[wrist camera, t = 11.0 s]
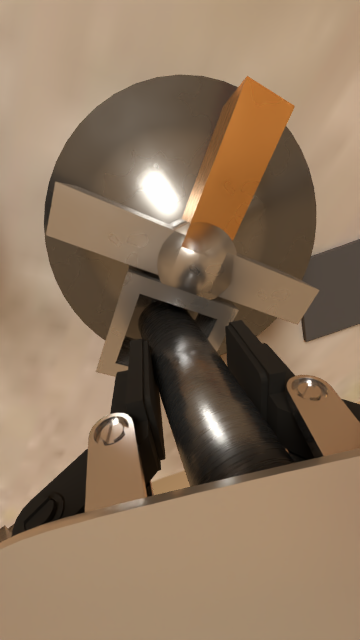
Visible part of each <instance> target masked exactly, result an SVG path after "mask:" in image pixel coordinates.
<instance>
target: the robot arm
mask: <svg viewBox="0 0 360 640" xmlns="http://www.w3.org/2000/svg"><path fill="white" fill-rule="evenodd" d="M225 334H226V350H227V365H228V368H229V370H230V371H231V373H232V374H233V375H234V377H235V378H236V380H237V381H238V383H239V384H240V385H241V387H242V388H243V390H244V391H245V392H246V394H247V395H248V397H249V398H250V400H251V401H252V402H253V404H254V405H255V407H256V408H257V409H258V411H259V412H260V414H261V415H262V417H263V418H264V419H265V421H266V422H267V424H268V425H269V426H270V428H271V429H272V431H273V432H274V434H275V435H276V436H277V438H278V439H279V441H280V442H281V443H282V445H283V446H284V448H285V449H286V451H287V452H288V453H289V455H290V456H291V458H292V459H293V460H294V462H295V463H292V464H287V465H283V466H279V467H274V468H270V469H266V470H261V471H257V472H253V473H248V474H244V475H239V476H235V477H231V478H227V479H222V480H218V481H214V482H209V483H205V484H201V485H196V486H192V487H188V488H184V489H180V490H175V491H171V492H167V493H163V494H158V495H154V493H153V488H152V483H151V479H152V478H153V476H154V475H155V474H156V473H157V471H159V470H161V462H160V460H164V459H165V448H164V438H163V427H162V416H161V406H160V395H159V390H158V387H157V384H156V381H155V377H154V371H153V364H152V357H151V352H150V348H149V343H148V341H143V338H142V339H137V340H131V341H130V352H129V364H128V370H125V371H120V372H117V374H116V379H115V386H114V393H113V399H112V406H111V413H110V414H109V415H107V416H105V417H103V418H102V419H100V420H99V421H98V422H97V423H96V424H95V425H94V426H93V427H92V429H91V431H90V433H89V438H88V449H87V450H85V451H84V452H83V453H82V454H81V455H80V456H79V457H78V458H77V459H76V460H75V461H73V462H72V463H71V464H70V465H69V466H68V467H67V468H66V469H65V470H64V471H62V472H61V473H60V474H59V475H58V476H57V477H56V478H55V479H54V480H53V481H52V482H50V483H49V484H48V485H47V486H46V487H45V488H44V489H43V490H42V491H41V492H40V493H38V494H37V495H36V496H35V497H34V498H33V499H32V500H31V501H30V502H29V503H28V504H27V505H26V506H25V507H24V508H23V510H22V511H21V513H20V514H19V516H18V517H17V519H16V522H15V524H14V525H12V526H11V527H9V528H7V527H6V526H4V527H2V528H1V529H0V640H360V404H357V403H353V402H350V401H347V400H343V399H341V398H340V397H339V396H338V394H337V393H336V392H335V390H334V389H333V388H332V387H331V386H330V385H329V384H328V383H327V382H326V381H324V380H322V379H321V378H318V377H315V376H310V375H298V376H295V375H294V374H293V373H292V372H291V370H290V369H289V368H288V367H287V366H286V365H285V364H284V363H283V361H282V360H281V359H280V358H279V357H278V356H277V355H276V354H275V352H274V351H273V350H272V349H271V348H270V347H269V346H268V345H267V344H265V343H264V344H262V343H261V342H260V341H259V340H258V338H257V337H256V336H255V335H254V334H253V333H252V331H251V330H250V329H249V328H248V327H247V326H246V324H245V323H244V322H243V321H242V320H238V321H233V322H229V325H228V326H225Z"/></svg>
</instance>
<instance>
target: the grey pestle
mask: <svg viewBox="0 0 360 640" xmlns="http://www.w3.org/2000/svg"><path fill="white" fill-rule="evenodd" d="M138 329H139V332H140V335H141V338H143V341H148V343H149V348H150V352H151V357H152V364H153V371H154V377H155V381H156V384H157V387H158V390H159V393H160V396H161V399H162V402H163V405H164V408H165V411H166V414H167V417H168V420H169V424H170V427H171V430H172V433H173V436H174V439H175V442H176V445H177V448H178V451H179V454H180V457H181V460H182V463H183V466H184V469H185V472H186V475H187V478H188V481H189V484H190V487H192V486H196V485H201V484H205V483H209V482H214V481H218V480H222V479H227V478H231V477H235V476H239V475H244V474H248V473H253V472H257V471H261V470H266V469H270V468H274V467H279V466H283V465H287V464H292V463H295V462H294V460H293V459H292V458H291V456H290V455H289V453H288V452H287V451H286V449H285V448H284V446H283V445H282V443H281V442H280V441H279V439H278V438H277V436H276V435H275V434H274V432H273V431H272V429H271V428H270V426H269V425H268V424H267V422H266V421H265V419H264V418H263V417H262V415H261V414H260V412H259V411H258V409H257V408H256V407H255V405H254V404H253V402H252V401H251V400H250V398H249V397H248V395H247V394H246V392H245V391H244V390H243V388H242V387H241V385H240V384H239V383H238V381H237V380H236V378H235V377H234V375H233V374H232V373H231V371H230V370H229V368H228V367H227V366H226V364H225V363H224V361H223V360H222V359H221V357H220V356H219V354H218V353H217V351H216V350H215V349H214V347H213V346H212V344H211V343H210V342H209V340H208V339H207V337H206V336H205V334H204V333H203V332H202V330H201V329H200V327H199V326H198V325H197V323H196V322H195V320H194V319H193V317H192V316H191V315H190V313H189V312H188V310H187V309H185V308H182V307H179V306H176V305H173V304H170V303H167V302H164V301H160V300H157V301H154V302H153V303H151V304H149V305H148V306H147V307H146V308H145V309H144V310H143V311H142V313H141V315H140V317H139V320H138Z"/></svg>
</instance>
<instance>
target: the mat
mask: <svg viewBox="0 0 360 640" xmlns="http://www.w3.org/2000/svg"><path fill="white" fill-rule="evenodd" d="M302 281H303V282H305V283H307V284H309V285H311V286H313V287H314V288H316V289H318V290H319V292H318V294H317V295H316V297H315V298H314V300H313V301H312V303H311V305H310V306H309V308H308V309H307V311H306V312H305V314H304V316H303V317H302V326H303V335H304V340H305V341H306V342H307V341H310V340H313V339H316V338H319V337H322V336H325V335H328V334H331V333H334V332H337V331H340V330H343V329H345V328H348V327H351V326H354V325H357V324H360V239H359V240H356V241H353V242H350V243H348V244H345V245H342V246H339V247H336V248H333V249H331V250H328V251H325V252H322V253H319V254H316V255H314V256H311V258H310V261H309V264H308V266H307V269H306V272H305V275H304V277H303V279H302Z"/></svg>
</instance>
